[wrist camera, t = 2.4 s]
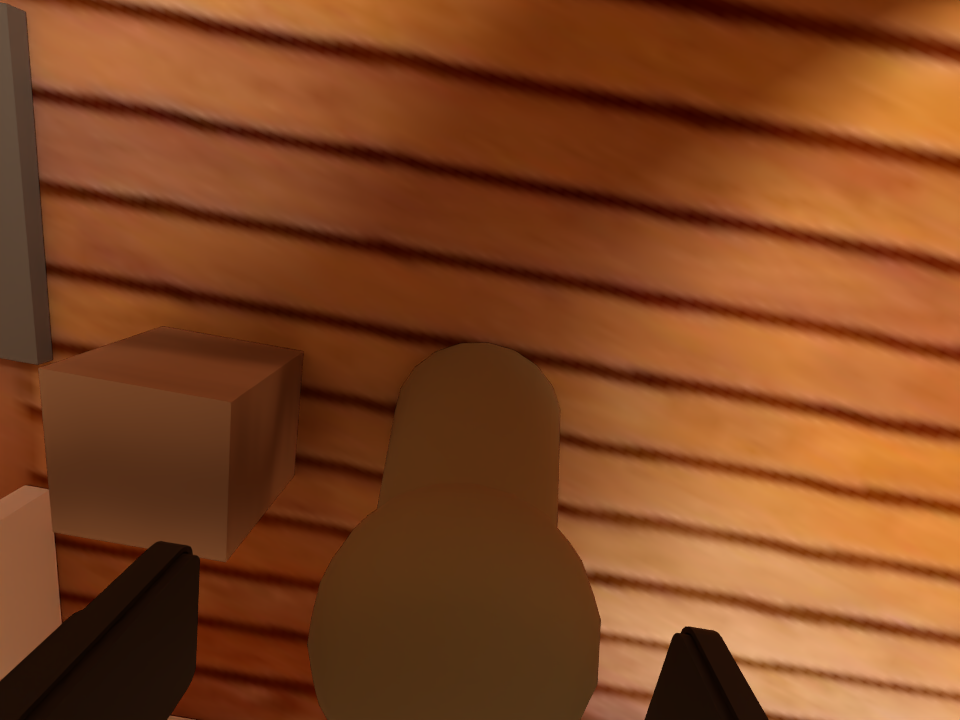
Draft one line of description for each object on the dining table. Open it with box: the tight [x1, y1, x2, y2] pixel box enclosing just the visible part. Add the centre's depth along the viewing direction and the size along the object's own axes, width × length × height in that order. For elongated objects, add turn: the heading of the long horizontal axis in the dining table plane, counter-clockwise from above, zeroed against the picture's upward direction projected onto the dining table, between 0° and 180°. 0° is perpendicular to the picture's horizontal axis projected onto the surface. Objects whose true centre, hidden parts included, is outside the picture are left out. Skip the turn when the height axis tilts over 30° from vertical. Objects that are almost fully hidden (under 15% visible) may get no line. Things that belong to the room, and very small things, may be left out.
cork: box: [307, 343, 601, 720], centre depth 13 cm, size 6×6×11 cm
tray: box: [0, 485, 194, 720], centre depth 20 cm, size 12×16×3 cm
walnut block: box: [38, 326, 304, 562], centre depth 16 cm, size 5×5×5 cm
